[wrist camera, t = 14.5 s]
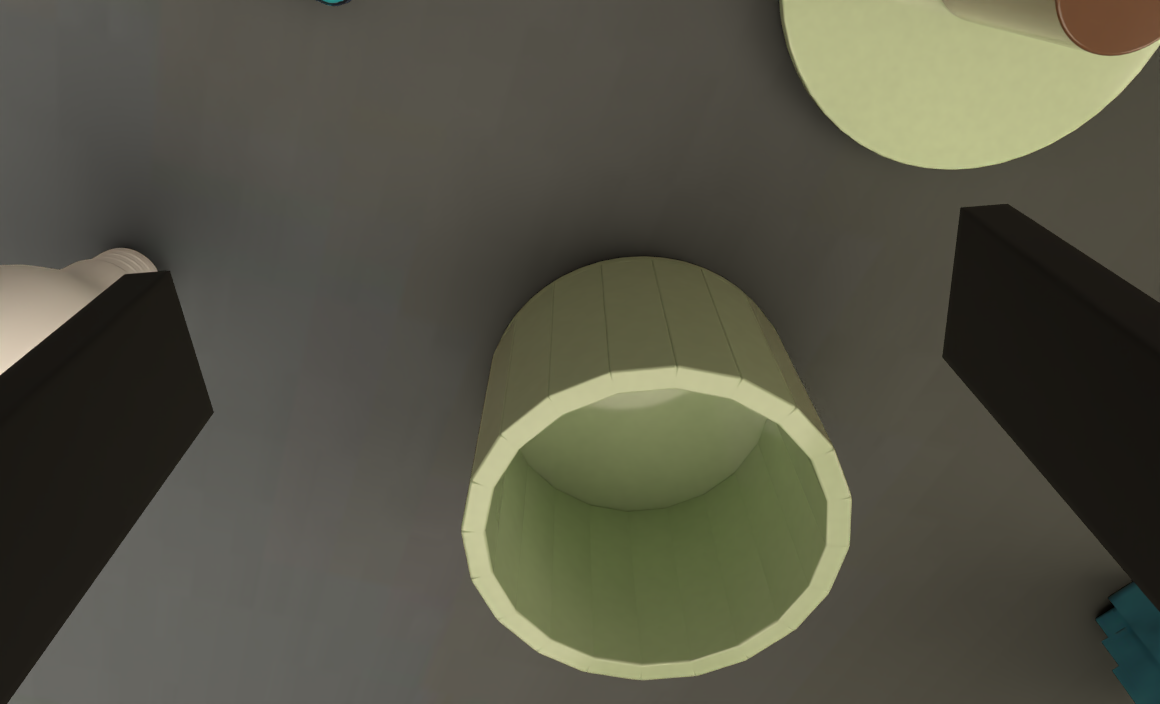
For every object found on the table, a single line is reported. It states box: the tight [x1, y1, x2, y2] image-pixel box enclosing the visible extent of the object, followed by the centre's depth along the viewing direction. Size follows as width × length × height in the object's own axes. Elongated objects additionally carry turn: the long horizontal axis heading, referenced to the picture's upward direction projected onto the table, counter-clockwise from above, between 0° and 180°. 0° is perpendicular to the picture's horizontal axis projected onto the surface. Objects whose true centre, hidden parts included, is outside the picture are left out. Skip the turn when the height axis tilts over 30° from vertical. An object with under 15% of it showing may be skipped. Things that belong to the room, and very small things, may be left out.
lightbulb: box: [0, 248, 158, 375], centre depth 29 cm, size 6×6×11 cm
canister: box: [461, 256, 852, 680], centre depth 33 cm, size 13×13×10 cm
